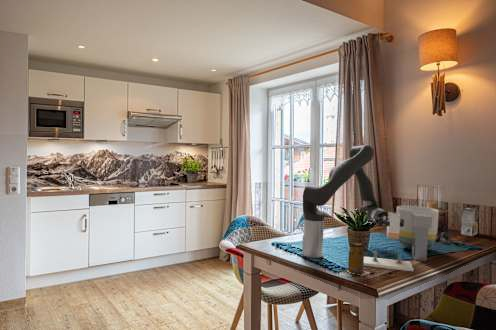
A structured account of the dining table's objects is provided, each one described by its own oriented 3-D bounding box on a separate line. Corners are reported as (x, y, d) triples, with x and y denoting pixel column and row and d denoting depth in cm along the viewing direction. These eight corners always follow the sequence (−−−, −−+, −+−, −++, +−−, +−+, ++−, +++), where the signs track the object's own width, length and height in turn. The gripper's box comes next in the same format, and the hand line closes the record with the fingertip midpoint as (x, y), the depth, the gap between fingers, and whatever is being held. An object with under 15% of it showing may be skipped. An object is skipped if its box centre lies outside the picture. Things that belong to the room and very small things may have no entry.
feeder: (412, 260, 162) (415, 215, 161) (409, 254, 171) (411, 212, 170) (429, 262, 160) (431, 217, 159) (425, 256, 169) (427, 213, 168)
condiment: (351, 268, 149) (353, 240, 149) (370, 273, 143) (372, 244, 143) (343, 272, 144) (344, 243, 143) (363, 277, 138) (364, 248, 137)
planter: (432, 257, 167) (435, 213, 166) (390, 249, 179) (392, 208, 178) (439, 249, 182) (441, 208, 181) (400, 242, 194) (402, 204, 193)
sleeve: (387, 237, 157) (389, 213, 156) (386, 235, 161) (387, 212, 161) (398, 238, 156) (400, 214, 155) (397, 236, 160) (398, 212, 159)
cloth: (415, 239, 203) (416, 229, 203) (438, 237, 210) (439, 227, 210) (450, 250, 183) (451, 239, 182) (474, 247, 189) (475, 236, 189)
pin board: (363, 265, 152) (364, 254, 152) (362, 258, 162) (363, 247, 162) (413, 271, 147) (414, 259, 147) (409, 264, 157) (409, 252, 156)
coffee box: (466, 232, 224) (467, 207, 223) (477, 234, 219) (479, 209, 218) (460, 234, 218) (462, 208, 217) (472, 236, 213) (473, 210, 212)
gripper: (367, 208, 172) (380, 215, 155) (396, 209, 172) (412, 216, 155) (366, 223, 173) (379, 232, 156) (395, 224, 173) (411, 233, 156)
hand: (395, 224), depth 156 cm, fingers closed on sleeve, 5 cm apart
